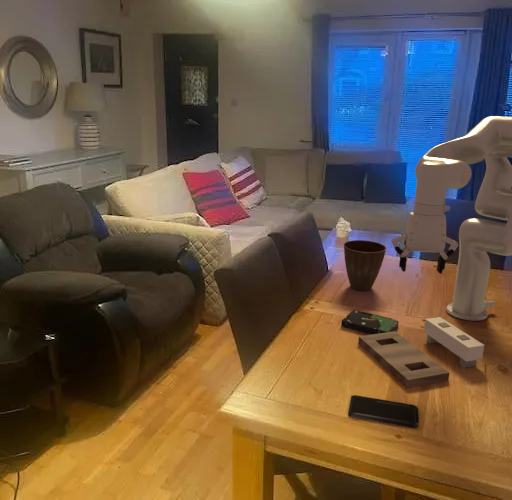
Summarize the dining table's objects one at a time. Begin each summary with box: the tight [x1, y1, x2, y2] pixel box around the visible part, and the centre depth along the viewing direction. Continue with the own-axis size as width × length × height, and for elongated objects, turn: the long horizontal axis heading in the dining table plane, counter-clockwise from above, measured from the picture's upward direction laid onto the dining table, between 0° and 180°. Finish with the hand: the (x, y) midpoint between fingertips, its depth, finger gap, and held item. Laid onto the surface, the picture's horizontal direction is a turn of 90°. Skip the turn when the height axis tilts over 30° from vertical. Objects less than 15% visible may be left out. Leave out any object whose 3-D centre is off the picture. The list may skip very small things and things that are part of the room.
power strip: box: [423, 316, 485, 369], centre depth 142 cm, size 5×18×7 cm, turn 18°
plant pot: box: [343, 239, 387, 292], centre depth 187 cm, size 15×15×16 cm
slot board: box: [358, 330, 450, 389], centre depth 137 cm, size 24×12×2 cm, turn 18°
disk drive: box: [340, 309, 399, 335], centre depth 157 cm, size 10×3×15 cm
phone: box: [347, 394, 420, 429], centre depth 115 cm, size 8×1×15 cm
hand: (421, 270), depth 140 cm, fingers open, 9 cm apart
